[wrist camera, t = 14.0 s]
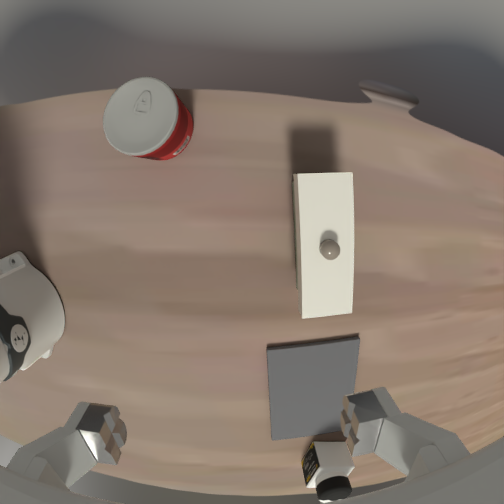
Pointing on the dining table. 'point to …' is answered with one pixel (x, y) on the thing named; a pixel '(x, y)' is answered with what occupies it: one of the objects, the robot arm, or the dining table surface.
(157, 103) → the canned food
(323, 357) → the mat
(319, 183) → the lid
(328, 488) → the medicine bottle
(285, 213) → the dining table surface
